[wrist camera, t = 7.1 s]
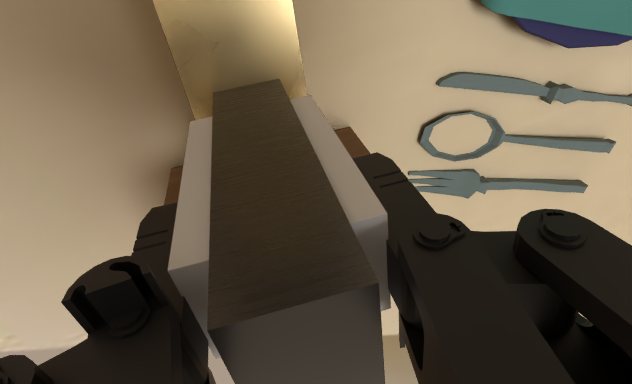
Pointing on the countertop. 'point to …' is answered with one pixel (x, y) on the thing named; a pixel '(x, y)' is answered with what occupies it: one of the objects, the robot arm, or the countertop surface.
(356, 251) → the gray and tan bar
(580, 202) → the countertop surface
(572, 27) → the cutlery set
